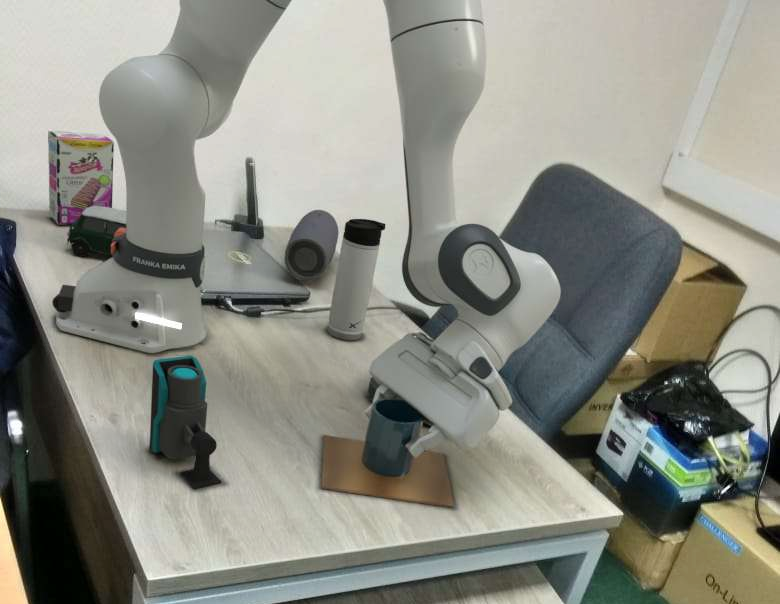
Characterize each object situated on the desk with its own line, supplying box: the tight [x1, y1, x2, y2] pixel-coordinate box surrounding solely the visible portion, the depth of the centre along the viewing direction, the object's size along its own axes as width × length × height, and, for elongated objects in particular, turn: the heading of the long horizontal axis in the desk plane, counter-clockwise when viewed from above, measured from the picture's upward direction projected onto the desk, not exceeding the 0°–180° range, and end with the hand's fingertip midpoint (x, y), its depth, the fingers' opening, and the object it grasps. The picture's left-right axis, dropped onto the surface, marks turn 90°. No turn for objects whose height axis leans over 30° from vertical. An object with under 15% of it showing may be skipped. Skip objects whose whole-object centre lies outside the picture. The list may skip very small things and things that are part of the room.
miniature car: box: [66, 206, 126, 257], centre depth 149 cm, size 9×18×8 cm, turn 89°
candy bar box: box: [47, 130, 115, 226], centre depth 158 cm, size 11×5×16 cm, turn 130°
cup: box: [362, 398, 424, 477], centre depth 106 cm, size 7×7×8 cm
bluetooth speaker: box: [284, 209, 339, 282], centre depth 165 cm, size 23×9×10 cm, turn 178°
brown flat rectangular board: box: [321, 434, 454, 509], centre depth 107 cm, size 17×13×1 cm
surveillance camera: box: [149, 355, 222, 490], centre depth 95 cm, size 6×12×10 cm
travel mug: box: [326, 218, 386, 341], centre depth 138 cm, size 6×7×20 cm
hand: (388, 435), depth 105 cm, fingers open, 8 cm apart
